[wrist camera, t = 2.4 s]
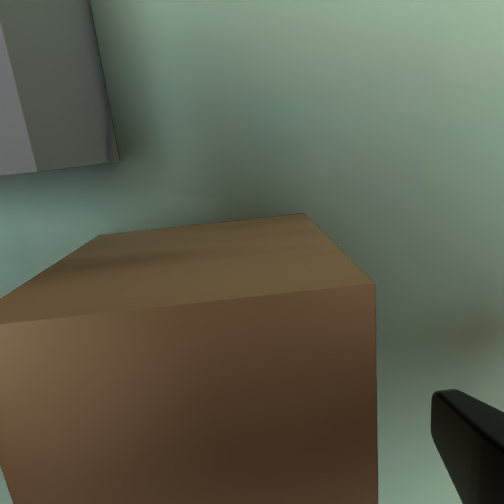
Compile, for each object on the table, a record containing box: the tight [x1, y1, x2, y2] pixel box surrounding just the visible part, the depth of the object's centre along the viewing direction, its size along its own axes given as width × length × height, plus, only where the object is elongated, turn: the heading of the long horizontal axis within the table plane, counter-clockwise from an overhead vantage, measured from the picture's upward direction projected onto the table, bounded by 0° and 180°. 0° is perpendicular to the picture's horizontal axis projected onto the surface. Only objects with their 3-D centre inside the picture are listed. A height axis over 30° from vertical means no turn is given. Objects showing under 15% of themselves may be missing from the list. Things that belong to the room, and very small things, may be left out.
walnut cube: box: [0, 213, 378, 504], centre depth 9 cm, size 6×6×6 cm
